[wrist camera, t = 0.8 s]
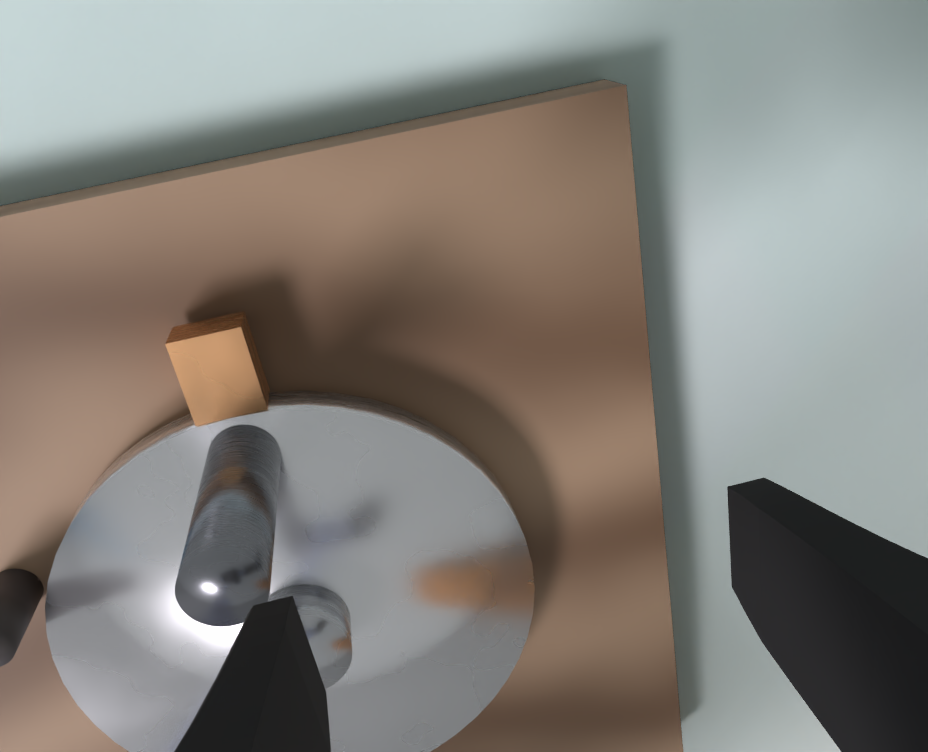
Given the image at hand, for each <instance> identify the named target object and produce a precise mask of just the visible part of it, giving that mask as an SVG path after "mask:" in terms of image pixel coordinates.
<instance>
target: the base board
mask: <svg viewBox="0 0 928 752" xmlns="http://www.w3.org/2000/svg"><path fill="white" fill-rule="evenodd" d="M243 311H245V313H246V316H247V319H248V323H249V326H250V329H251V332H252V335H253V338H254V342H255V345H256V348H257V351H258V354H259V357H260V360H261V364H262V367H263V370H264V373H265V376H266V379H267V383H268V386H269V389H270V392H285V391H319V392H335V393H342V394H348V395H353V396H359V397H364V398H369V399H373V400H376V401H379V402H383V403H386V404H389V405H392V406H395V407H399V408H402V409H404V410H406V411H408V412H410V413H413V414H415V415H417V416H419V417H421V418H423V419H426V420H428V421H430V422H431V423H433V424H435V425H436V426H438V427H439V428H441V429H443V430H444V431H446V432H447V433H449V434H451V435H452V436H454V437H455V438H456V439H457V440H459V441H460V442H461V443H462V444H463V445H465V446H466V447H467V448H468V449H469V450H470V451H472V452H473V453H474V454H475V455H476V456H477V457H478V458H479V459H480V460H481V461H482V463H483V464H484V465H485V466H486V467H487V468H488V469H489V470H490V471H491V473H492V474H493V475H494V476H495V478H496V479H497V481H498V483H499V484H500V486H501V487H502V489H503V490H504V492H505V493H506V495H507V496H508V499H509V501H510V503H511V505H512V508H513V510H514V512H515V514H516V517H517V519H518V521H519V524H520V527H521V529H522V532H523V534H524V537H525V540H526V542H527V546H528V550H529V554H530V558H531V561H532V566H533V576H534V587H535V592H534V607H533V615H532V620H531V624H530V629H529V633H528V637H527V640H526V642H525V645H524V647H523V650H522V653H521V655H520V658H519V660H518V662H517V663H516V665H515V667H514V669H513V671H512V672H511V674H510V676H509V678H508V680H507V681H506V682H505V684H504V685H503V686H502V688H501V689H500V690H499V692H498V693H497V695H496V696H495V697H494V699H493V700H492V701H491V702H490V703H489V704H488V705H487V706H486V707H485V708H484V709H483V711H482V712H481V713H480V714H479V715H478V716H477V717H476V718H475V719H474V720H473V721H471V722H470V723H469V724H468V725H467V726H465V727H464V728H463V729H462V730H461V731H460V732H458V733H457V734H456V735H455V736H453V737H452V738H450V739H449V740H447V741H446V742H444V743H443V744H441V745H440V746H438V747H437V748H436V749H434V750H432V751H431V752H683V744H682V732H681V720H680V709H679V697H678V685H677V673H676V662H675V650H674V638H673V626H672V615H671V603H670V591H669V579H668V568H667V556H666V544H665V533H664V521H663V509H662V497H661V486H660V474H659V462H658V450H657V439H656V427H655V415H654V403H653V392H652V380H651V368H650V357H649V345H648V333H647V321H646V310H645V298H644V286H643V274H642V263H641V251H640V239H639V227H638V216H637V204H636V192H635V181H634V169H633V157H632V145H631V134H630V122H629V110H628V98H627V87H626V85H624V84H620V83H616V82H612V81H609V80H605V79H604V80H599V81H595V82H590V83H585V84H580V85H576V86H571V87H566V88H561V89H556V90H552V91H547V92H542V93H537V94H533V95H528V96H523V97H518V98H513V99H509V100H504V101H499V102H494V103H490V104H485V105H480V106H475V107H471V108H466V109H461V110H456V111H451V112H447V113H442V114H437V115H432V116H428V117H423V118H418V119H413V120H409V121H404V122H399V123H394V124H389V125H385V126H380V127H375V128H370V129H366V130H361V131H356V132H351V133H346V134H342V135H337V136H332V137H327V138H323V139H318V140H313V141H308V142H304V143H299V144H294V145H289V146H284V147H280V148H275V149H270V150H265V151H261V152H256V153H251V154H246V155H242V156H237V157H232V158H227V159H222V160H218V161H213V162H208V163H203V164H199V165H194V166H189V167H184V168H179V169H175V170H170V171H165V172H160V173H156V174H151V175H146V176H141V177H137V178H132V179H127V180H122V181H117V182H113V183H108V184H103V185H98V186H94V187H89V188H84V189H79V190H74V191H70V192H65V193H60V194H55V195H51V196H46V197H41V198H36V199H32V200H27V201H22V202H17V203H12V204H8V205H3V206H0V752H129V751H128V750H126V749H124V748H123V747H121V746H120V745H118V744H117V743H115V742H114V741H113V740H112V739H111V738H110V737H108V736H107V735H106V734H105V733H104V732H103V731H101V730H100V729H99V728H98V727H97V726H96V725H94V723H93V722H92V721H91V720H90V719H89V718H88V717H87V715H86V714H85V713H84V712H83V711H82V710H81V709H80V707H79V706H78V705H77V704H76V702H75V701H74V699H73V698H72V696H71V694H70V693H69V691H68V690H67V688H66V687H65V685H64V684H63V682H62V679H61V677H60V675H59V672H58V670H57V668H56V665H55V663H54V661H53V658H52V654H51V650H50V646H49V642H48V638H47V633H46V618H45V602H46V593H47V584H48V579H49V575H50V572H51V569H52V565H53V562H54V559H55V555H56V553H57V551H58V548H59V546H60V544H61V542H62V540H63V538H64V536H65V534H66V532H67V530H68V528H69V526H70V523H71V521H72V519H73V517H74V515H75V513H76V511H77V509H78V507H79V505H80V503H81V502H82V500H83V499H84V498H85V496H86V495H87V493H88V492H89V491H90V489H91V488H92V486H93V485H94V483H95V482H96V481H97V479H98V478H99V477H100V476H101V475H102V474H103V473H104V472H105V471H106V470H107V469H108V468H109V467H110V466H111V465H112V464H113V463H114V462H115V461H116V459H117V458H118V457H120V456H121V455H122V454H124V453H125V452H126V451H127V450H129V449H130V448H131V447H132V446H134V445H135V444H136V443H138V442H139V441H140V440H141V439H143V438H144V437H146V436H147V435H149V434H151V433H153V432H154V431H156V430H158V429H159V428H161V427H163V426H164V425H166V424H168V423H169V422H171V421H173V420H176V419H178V418H180V417H183V416H185V415H187V414H189V413H190V410H189V407H188V405H187V402H186V399H185V397H184V394H183V391H182V388H181V386H180V383H179V380H178V378H177V375H176V372H175V370H174V367H173V364H172V361H171V359H170V356H169V353H168V351H167V348H166V345H165V343H166V341H167V339H168V337H169V334H170V332H171V330H172V328H173V327H175V326H180V325H184V324H189V323H193V322H198V321H202V320H207V319H211V318H216V317H220V316H225V315H229V314H234V313H238V312H243Z"/></svg>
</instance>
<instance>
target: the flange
mask: <svg viewBox="0 0 928 752" xmlns="http://www.w3.org/2000/svg"><path fill="white" fill-rule="evenodd" d="M165 345H166V348H167V351H168V353H169V356H170V359H171V361H172V364H173V367H174V370H175V372H176V375H177V378H178V380H179V383H180V386H181V388H182V391H183V394H184V397H185V399H186V402H187V405H188V407H189V410H190V413H189V414H187V415H185V416H183V417H180V418H178V419H176V420H173V421H171V422H169V423H168V424H166V425H164V426H163V427H161V428H159V429H158V430H156V431H154V432H153V433H151V434H149V435H147V436H146V437H144V438H143V439H141V440H140V441H139V442H138V443H136V444H135V445H134V446H132V447H131V448H130V449H129V450H127V451H126V452H125V453H124V454H122V455H121V456H120V457H118V458H117V459H116V461H115V462H114V463H113V464H112V465H111V466H110V467H109V468H108V469H107V470H106V471H105V472H104V473H103V474H102V475H101V476H100V477H99V478H98V479H97V481H96V482H95V483H94V485H93V486H92V488H91V489H90V491H89V492H88V493H87V495H86V496H85V498H84V499H83V500H82V502H81V503H80V505H79V507H78V509H77V511H76V513H75V515H74V517H73V519H72V521H71V523H70V526H69V528H68V530H67V532H66V534H65V536H64V538H63V540H62V542H61V544H60V546H59V548H58V551H57V553H56V555H55V559H54V562H53V565H52V569H51V572H50V575H49V579H48V584H47V593H46V602H45V618H46V633H47V638H48V642H49V646H50V650H51V654H52V658H53V661H54V663H55V665H56V668H57V670H58V672H59V675H60V677H61V679H62V682H63V684H64V685H65V687H66V688H67V690H68V691H69V693H70V694H71V696H72V698H73V699H74V701H75V702H76V704H77V705H78V706H79V707H80V709H81V710H82V711H83V712H84V713H85V714H86V715H87V717H88V718H89V719H90V720H91V721H92V722H93V723H94V725H96V726H97V727H98V728H99V729H100V730H101V731H103V732H104V733H105V734H106V735H107V736H108V737H110V738H111V739H112V740H113V741H114V742H115V743H117V744H118V745H120V746H121V747H123V748H124V749H126V750H128V751H129V752H174V751H175V749H176V748H177V746H178V744H179V743H180V741H181V740H182V738H183V736H184V735H185V733H186V731H187V730H188V728H189V726H190V725H191V723H192V721H193V719H194V718H195V716H196V714H197V712H198V710H199V708H200V707H201V705H202V703H203V701H204V699H205V697H206V696H207V694H208V692H209V690H210V688H211V686H212V685H213V683H214V681H215V679H216V677H217V675H218V673H219V671H220V669H221V667H222V665H223V663H224V661H225V659H226V657H227V656H228V654H229V651H230V649H231V647H232V645H233V643H234V641H235V639H236V637H237V635H238V633H239V631H240V629H241V627H242V625H243V623H244V621H245V619H246V616H247V614H248V613H249V611H250V610H251V608H252V607H253V605H257V604H261V603H265V602H269V601H273V600H277V599H281V598H285V597H289V596H293V598H294V601H295V604H296V607H297V610H298V612H299V615H300V618H301V621H302V624H303V627H304V630H305V633H306V635H307V638H308V641H309V644H310V647H311V650H312V653H313V655H314V658H315V661H316V664H317V667H318V670H319V673H320V676H321V678H322V681H323V684H324V687H325V690H326V695H327V707H328V718H329V731H330V744H331V752H431V751H432V750H434V749H436V748H437V747H438V746H440V745H441V744H443V743H444V742H446V741H447V740H449V739H450V738H452V737H453V736H455V735H456V734H457V733H458V732H460V731H461V730H462V729H463V728H464V727H465V726H467V725H468V724H469V723H470V722H471V721H473V720H474V719H475V718H476V717H477V716H478V715H479V714H480V713H481V712H482V711H483V709H484V708H485V707H486V706H487V705H488V704H489V703H490V702H491V701H492V700H493V699H494V697H495V696H496V695H497V693H498V692H499V690H500V689H501V688H502V686H503V685H504V684H505V682H506V681H507V680H508V678H509V676H510V674H511V672H512V671H513V669H514V667H515V665H516V663H517V662H518V660H519V658H520V655H521V653H522V650H523V647H524V645H525V642H526V640H527V637H528V633H529V629H530V624H531V620H532V615H533V607H534V592H535V587H534V576H533V566H532V561H531V558H530V554H529V550H528V546H527V542H526V540H525V537H524V534H523V532H522V529H521V527H520V524H519V521H518V519H517V517H516V514H515V512H514V510H513V508H512V505H511V503H510V501H509V499H508V496H507V495H506V493H505V492H504V490H503V489H502V487H501V486H500V484H499V483H498V481H497V479H496V478H495V476H494V475H493V474H492V473H491V471H490V470H489V469H488V468H487V467H486V466H485V465H484V464H483V463H482V461H481V460H480V459H479V458H478V457H477V456H476V455H475V454H474V453H473V452H472V451H470V450H469V449H468V448H467V447H466V446H465V445H463V444H462V443H461V442H460V441H459V440H457V439H456V438H455V437H454V436H452V435H451V434H449V433H447V432H446V431H444V430H443V429H441V428H439V427H438V426H436V425H435V424H433V423H431V422H430V421H428V420H426V419H423V418H421V417H419V416H417V415H415V414H413V413H410V412H408V411H406V410H404V409H402V408H399V407H395V406H392V405H389V404H386V403H383V402H379V401H376V400H373V399H369V398H364V397H359V396H353V395H348V394H342V393H335V392H319V391H285V392H270V389H269V386H268V383H267V379H266V376H265V373H264V370H263V367H262V364H261V360H260V357H259V354H258V351H257V348H256V345H255V342H254V338H253V335H252V332H251V329H250V326H249V323H248V319H247V316H246V313H245V311H243V312H238V313H234V314H229V315H225V316H220V317H216V318H211V319H207V320H202V321H198V322H193V323H189V324H184V325H180V326H175V327H173V328H172V330H171V332H170V334H169V337H168V339H167V341H166V343H165Z"/></svg>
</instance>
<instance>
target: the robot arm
mask: <svg viewBox="0 0 928 752" xmlns="http://www.w3.org/2000/svg"><path fill="white" fill-rule="evenodd" d="M728 509H729V531H730V554H731V577H732V588H733V590H734V592H735V594H736V595H737V597H738V599H739V601H740V603H741V605H742V607H743V609H744V610H745V612H746V614H747V616H748V618H749V620H750V622H751V623H752V625H753V627H754V629H755V630H756V632H757V634H758V636H759V637H760V639H761V641H762V643H763V644H764V645H765V647H766V648H767V650H768V651H769V652H770V654H771V655H772V657H773V658H774V660H775V661H776V662H777V664H778V665H779V666H780V668H781V669H782V671H783V672H784V673H785V675H786V676H787V678H788V679H789V680H790V682H791V683H792V685H793V686H794V687H795V689H796V690H797V691H798V693H799V694H800V695H801V697H802V698H803V700H804V701H805V702H806V704H807V705H808V706H809V708H810V709H811V711H812V712H813V713H814V715H815V716H816V717H817V719H818V720H819V721H820V723H821V724H822V726H823V727H824V728H825V730H826V731H827V732H828V734H829V735H830V737H831V738H832V739H833V741H834V742H835V743H836V745H837V746H838V747H839V749H840V750H841V752H928V558H926V557H923V556H921V555H919V554H916V553H914V552H912V551H910V550H908V549H905V548H903V547H901V546H899V545H897V544H895V543H893V542H890V541H888V540H886V539H884V538H882V537H880V536H878V535H876V534H874V533H872V532H870V531H868V530H866V529H864V528H862V527H860V526H858V525H856V524H854V523H852V522H850V521H848V520H846V519H844V518H842V517H840V516H838V515H836V514H834V513H832V512H830V511H828V510H826V509H825V508H823V507H821V506H819V505H817V504H815V503H813V502H811V501H809V500H807V499H805V498H803V497H802V496H800V495H798V494H796V493H794V492H792V491H790V490H788V489H786V488H784V487H782V486H780V485H778V484H776V483H774V482H772V481H770V480H768V479H766V478H761V479H757V480H753V481H749V482H745V483H741V484H737V485H733V486H729V487H728ZM174 752H331V744H330V731H329V718H328V707H327V695H326V690H325V687H324V684H323V681H322V678H321V676H320V673H319V670H318V667H317V664H316V661H315V658H314V655H313V653H312V650H311V647H310V644H309V641H308V638H307V635H306V633H305V630H304V627H303V624H302V621H301V618H300V615H299V612H298V610H297V607H296V604H295V601H294V598H293V596H289V597H285V598H281V599H277V600H273V601H269V602H265V603H261V604H257V605H253V607H252V608H251V610H250V611H249V613H248V614H247V616H246V619H245V621H244V623H243V625H242V627H241V629H240V631H239V633H238V635H237V637H236V639H235V641H234V643H233V645H232V647H231V649H230V651H229V654H228V656H227V657H226V659H225V661H224V663H223V665H222V667H221V669H220V671H219V673H218V675H217V677H216V679H215V681H214V683H213V685H212V686H211V688H210V690H209V692H208V694H207V696H206V697H205V699H204V701H203V703H202V705H201V707H200V708H199V710H198V712H197V714H196V716H195V718H194V719H193V721H192V723H191V725H190V726H189V728H188V730H187V731H186V733H185V735H184V736H183V738H182V740H181V741H180V743H179V744H178V746H177V748H176V749H175V751H174Z"/></svg>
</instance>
